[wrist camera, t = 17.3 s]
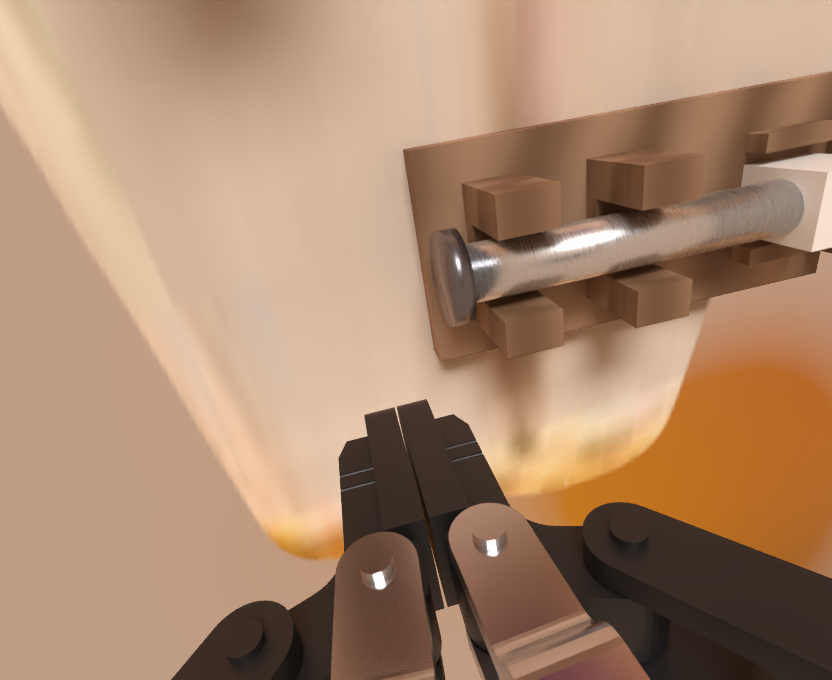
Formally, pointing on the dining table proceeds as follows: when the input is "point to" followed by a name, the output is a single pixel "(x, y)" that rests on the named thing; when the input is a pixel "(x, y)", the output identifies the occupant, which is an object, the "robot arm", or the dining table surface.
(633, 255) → the shaft
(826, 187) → the block
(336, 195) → the dining table surface
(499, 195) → the stand
